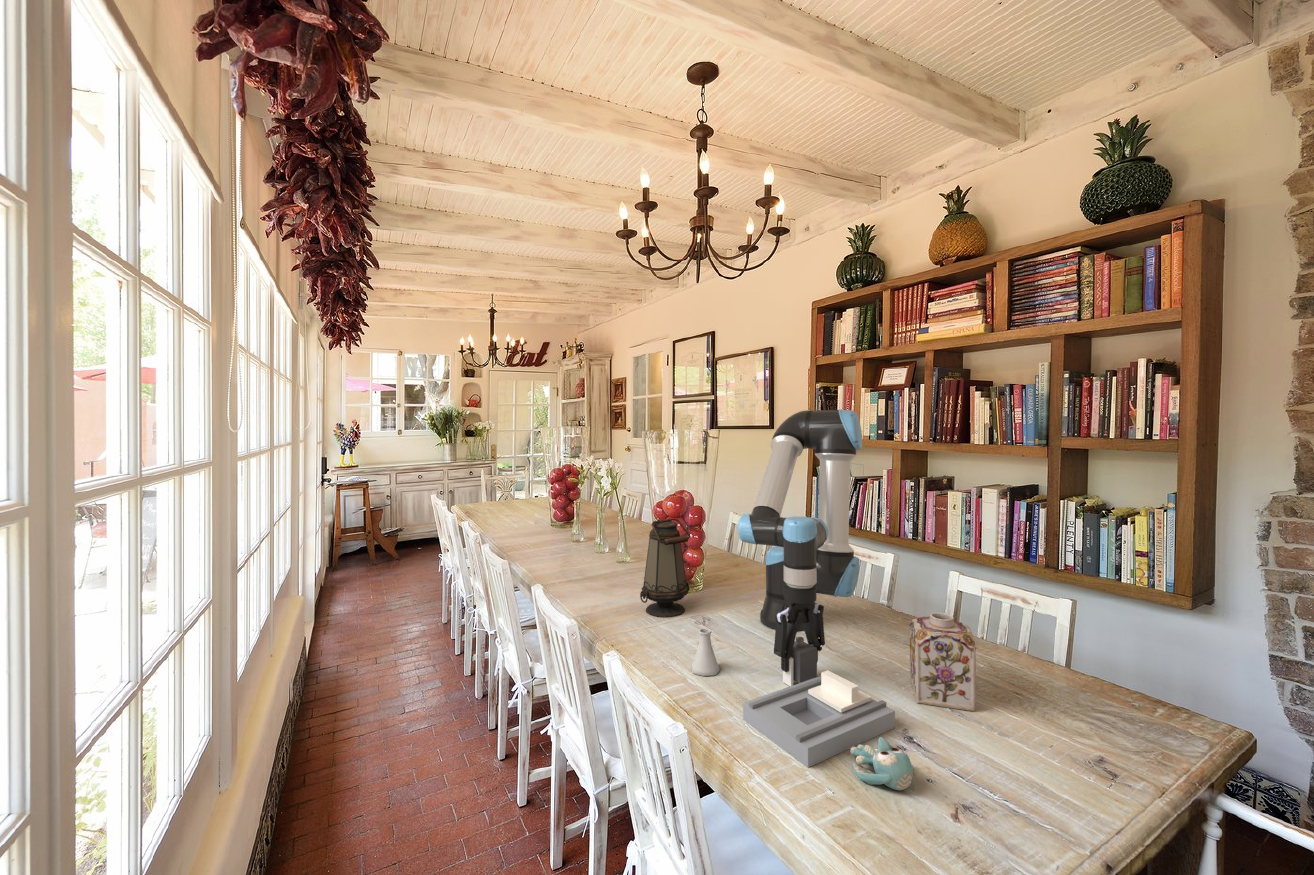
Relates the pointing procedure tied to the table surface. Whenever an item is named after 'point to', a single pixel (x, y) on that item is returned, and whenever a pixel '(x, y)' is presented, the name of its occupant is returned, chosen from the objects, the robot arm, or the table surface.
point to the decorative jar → (943, 662)
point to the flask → (705, 656)
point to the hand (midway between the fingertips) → (799, 679)
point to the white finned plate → (838, 692)
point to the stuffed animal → (883, 765)
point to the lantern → (665, 570)
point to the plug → (803, 661)
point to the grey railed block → (815, 722)
